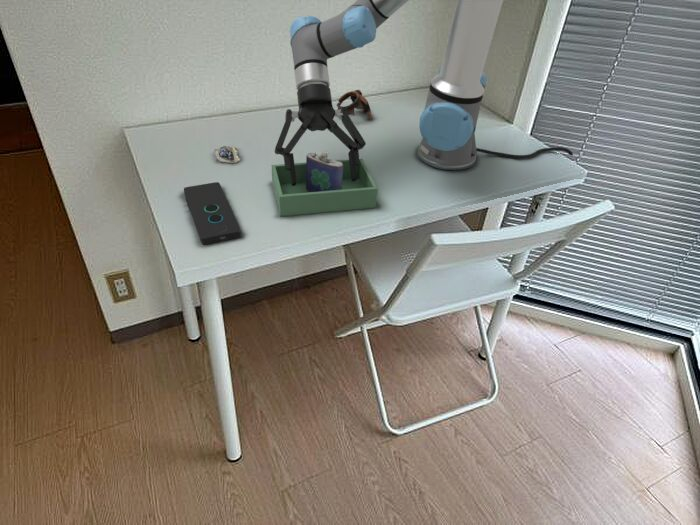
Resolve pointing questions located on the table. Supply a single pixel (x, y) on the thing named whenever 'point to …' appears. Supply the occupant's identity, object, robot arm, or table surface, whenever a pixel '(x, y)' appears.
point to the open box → (304, 202)
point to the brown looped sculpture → (355, 102)
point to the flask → (323, 173)
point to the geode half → (227, 154)
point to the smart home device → (211, 213)
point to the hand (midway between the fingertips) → (324, 182)
